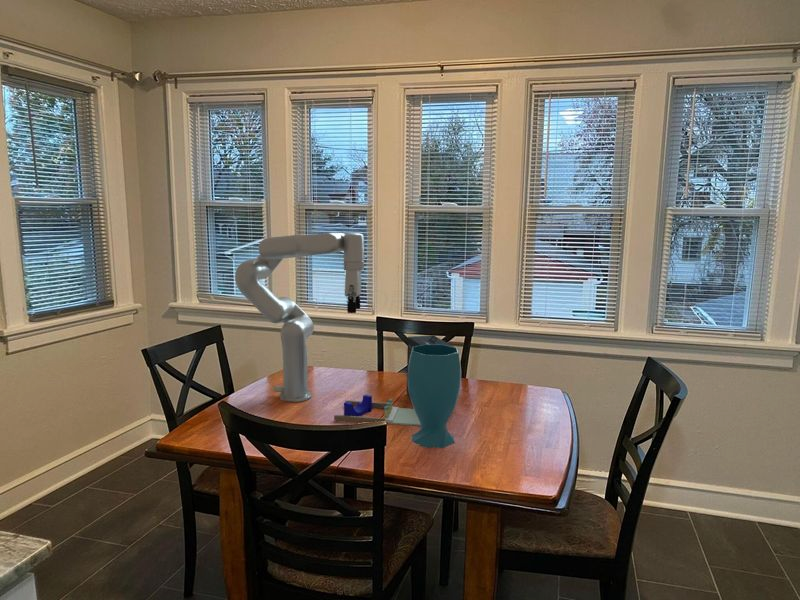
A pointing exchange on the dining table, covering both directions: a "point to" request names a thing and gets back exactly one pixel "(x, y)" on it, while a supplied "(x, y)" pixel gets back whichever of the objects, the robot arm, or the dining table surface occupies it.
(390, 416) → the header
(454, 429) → the dining table surface
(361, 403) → the cable clip
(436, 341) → the headset box
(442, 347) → the vase
